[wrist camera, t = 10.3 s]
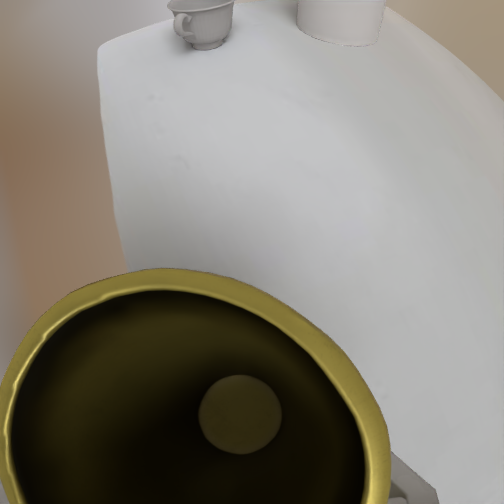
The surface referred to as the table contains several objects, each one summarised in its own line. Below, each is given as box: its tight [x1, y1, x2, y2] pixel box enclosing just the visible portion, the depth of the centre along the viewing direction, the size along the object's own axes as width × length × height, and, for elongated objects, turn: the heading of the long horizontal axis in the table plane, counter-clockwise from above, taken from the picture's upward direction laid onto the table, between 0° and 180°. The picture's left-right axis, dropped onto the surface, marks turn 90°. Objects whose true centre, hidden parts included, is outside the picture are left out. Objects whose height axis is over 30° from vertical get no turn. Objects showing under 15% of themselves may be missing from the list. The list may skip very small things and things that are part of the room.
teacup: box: [167, 0, 235, 50], centre depth 45 cm, size 12×15×10 cm
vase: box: [0, 268, 391, 504], centre depth 9 cm, size 6×6×14 cm
